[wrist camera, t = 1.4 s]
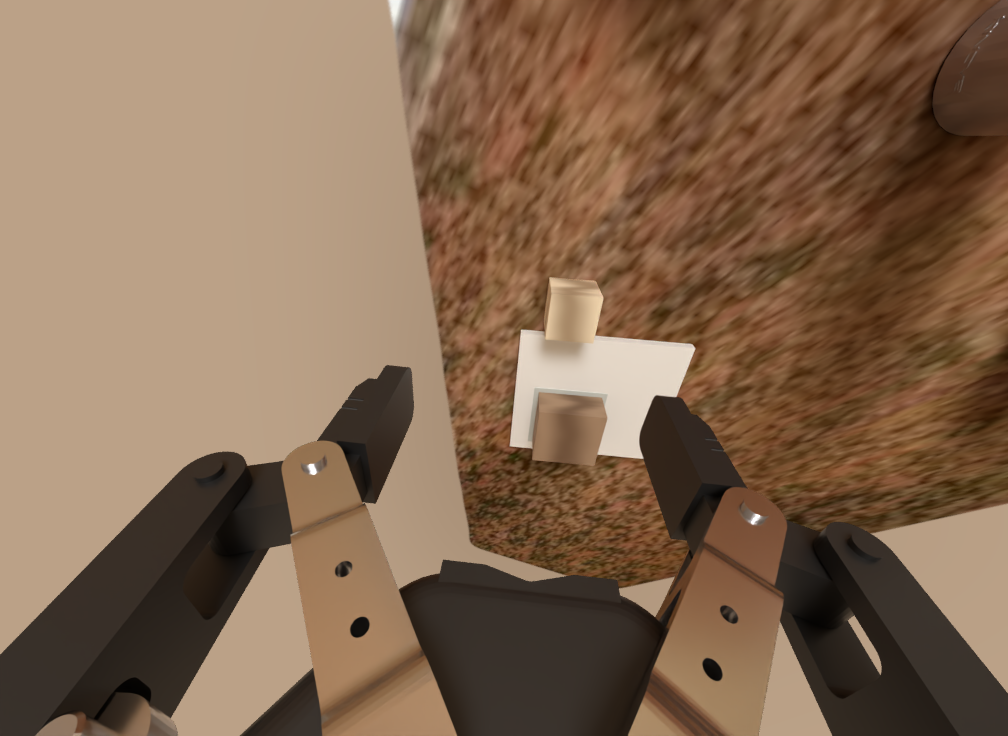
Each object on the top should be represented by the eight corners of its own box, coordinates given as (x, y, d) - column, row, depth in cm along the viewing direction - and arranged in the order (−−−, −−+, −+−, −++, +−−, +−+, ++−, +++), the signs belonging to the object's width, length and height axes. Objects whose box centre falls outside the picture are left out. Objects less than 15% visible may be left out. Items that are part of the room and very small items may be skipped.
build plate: (692, 344, 42) (695, 348, 41) (649, 454, 52) (651, 460, 51) (521, 329, 43) (520, 333, 42) (510, 441, 52) (509, 446, 51)
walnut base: (602, 397, 46) (607, 418, 42) (590, 443, 50) (594, 465, 47) (538, 392, 46) (539, 412, 42) (532, 438, 50) (532, 459, 47)
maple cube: (595, 280, 39) (603, 298, 35) (587, 322, 42) (593, 343, 37) (549, 277, 39) (551, 293, 35) (543, 319, 42) (545, 339, 38)
